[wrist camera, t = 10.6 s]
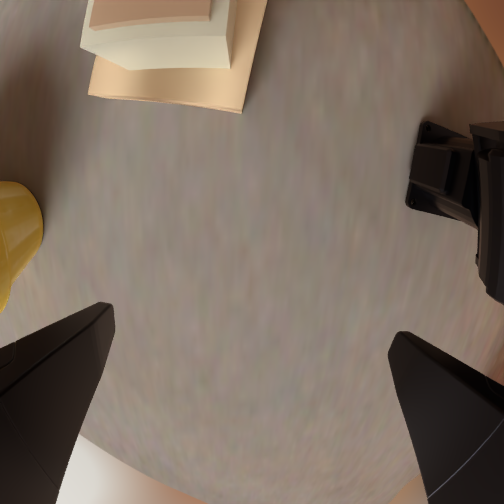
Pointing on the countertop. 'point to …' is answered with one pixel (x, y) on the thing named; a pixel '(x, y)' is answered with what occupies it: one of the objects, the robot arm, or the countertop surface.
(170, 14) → the cream lidded box
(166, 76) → the beech block
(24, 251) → the plant pot
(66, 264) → the countertop surface
